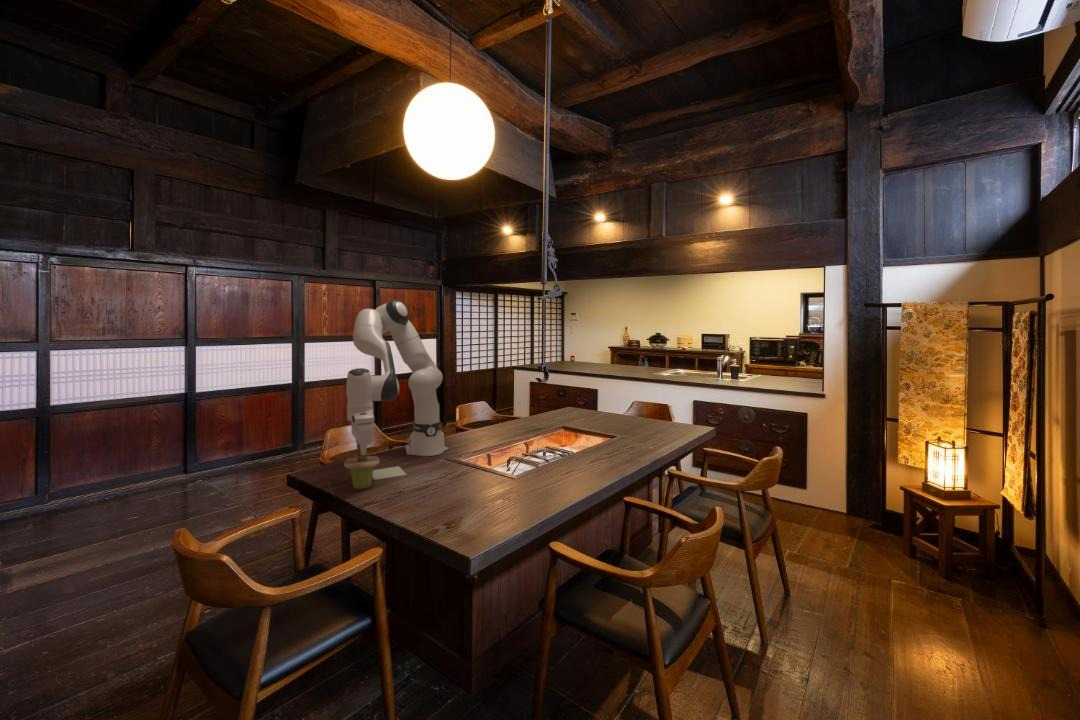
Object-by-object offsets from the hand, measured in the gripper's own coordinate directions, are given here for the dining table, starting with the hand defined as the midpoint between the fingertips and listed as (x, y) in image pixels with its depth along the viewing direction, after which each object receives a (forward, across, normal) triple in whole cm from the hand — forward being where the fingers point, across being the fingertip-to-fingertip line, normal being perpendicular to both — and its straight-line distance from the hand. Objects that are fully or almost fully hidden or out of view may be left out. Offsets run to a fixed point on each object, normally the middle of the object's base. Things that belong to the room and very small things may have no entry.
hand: (361, 451), depth 168 cm
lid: (+4, 0, 0) cm, 4 cm away
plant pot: (+13, 0, 0) cm, 13 cm away
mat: (+13, -10, +11) cm, 20 cm away
